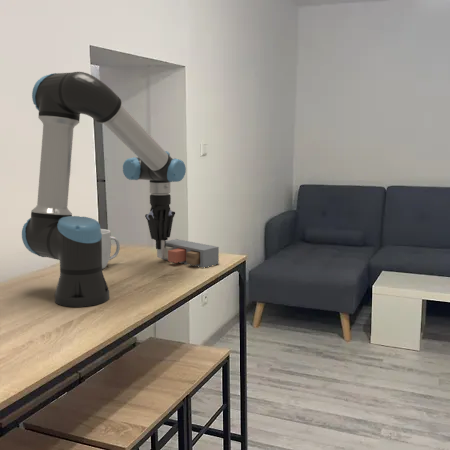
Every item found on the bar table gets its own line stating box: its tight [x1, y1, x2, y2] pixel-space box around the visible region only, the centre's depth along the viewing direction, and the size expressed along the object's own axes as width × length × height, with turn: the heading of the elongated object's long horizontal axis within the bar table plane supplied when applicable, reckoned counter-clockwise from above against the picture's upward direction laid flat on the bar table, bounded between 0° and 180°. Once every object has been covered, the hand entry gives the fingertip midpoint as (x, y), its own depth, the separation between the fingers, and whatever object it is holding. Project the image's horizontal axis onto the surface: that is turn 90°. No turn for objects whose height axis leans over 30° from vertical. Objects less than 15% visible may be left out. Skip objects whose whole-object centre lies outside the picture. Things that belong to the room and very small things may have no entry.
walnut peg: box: [186, 251, 200, 265], centre depth 200 cm, size 9×4×4 cm, turn 139°
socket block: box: [160, 238, 220, 269], centre depth 206 cm, size 8×22×6 cm, turn 49°
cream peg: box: [165, 245, 173, 259], centre depth 209 cm, size 9×4×4 cm, turn 139°
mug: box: [101, 228, 121, 270], centre depth 196 cm, size 15×11×13 cm
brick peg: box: [167, 248, 186, 264], centre depth 203 cm, size 9×4×4 cm, turn 139°
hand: (160, 257), depth 205 cm, fingers closed
